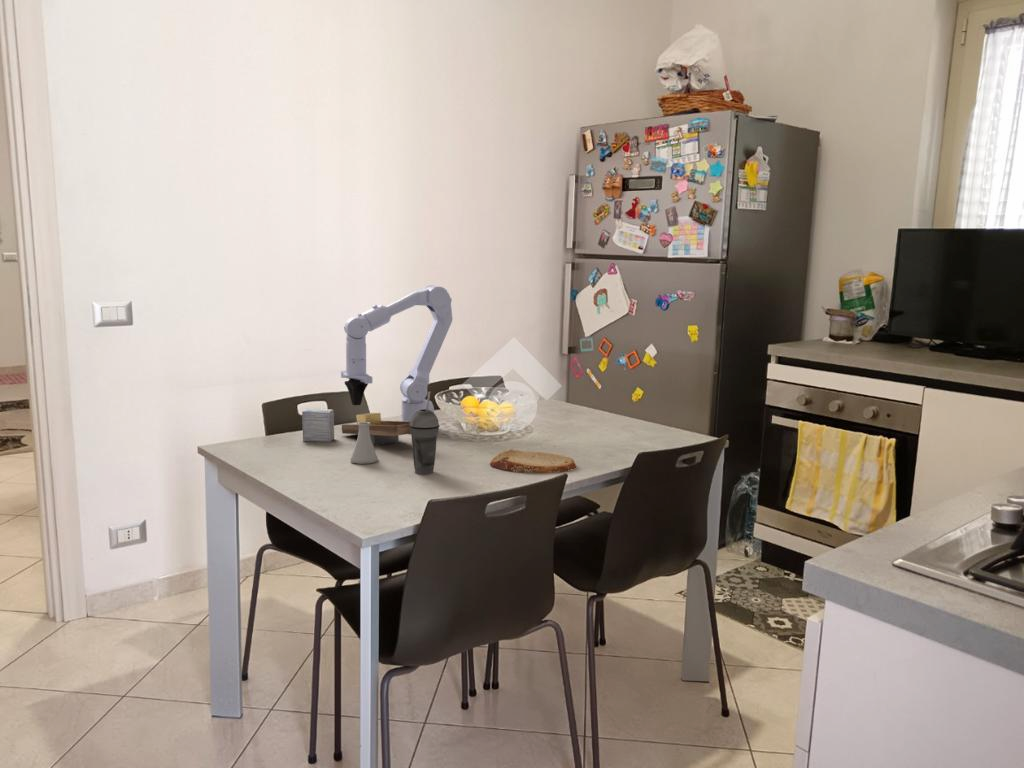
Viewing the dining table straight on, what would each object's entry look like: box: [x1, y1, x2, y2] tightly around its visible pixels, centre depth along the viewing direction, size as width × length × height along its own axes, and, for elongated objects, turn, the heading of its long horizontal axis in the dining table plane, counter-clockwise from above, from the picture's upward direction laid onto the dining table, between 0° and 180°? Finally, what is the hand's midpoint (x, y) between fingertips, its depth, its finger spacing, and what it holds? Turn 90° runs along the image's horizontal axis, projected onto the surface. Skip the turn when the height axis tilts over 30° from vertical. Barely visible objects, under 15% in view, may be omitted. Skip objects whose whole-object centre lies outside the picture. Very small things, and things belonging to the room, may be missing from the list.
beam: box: [341, 420, 411, 436], centre depth 226 cm, size 10×28×3 cm, turn 41°
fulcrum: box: [370, 435, 400, 446], centre depth 225 cm, size 8×2×3 cm, turn 131°
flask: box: [350, 422, 379, 465], centre depth 205 cm, size 7×7×10 cm
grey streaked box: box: [301, 408, 335, 443], centre depth 227 cm, size 8×4×9 cm, turn 84°
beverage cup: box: [409, 391, 440, 475], centre depth 195 cm, size 7×7×20 cm
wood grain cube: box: [356, 412, 382, 425], centre depth 231 cm, size 5×5×4 cm
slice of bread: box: [489, 448, 577, 474], centre depth 204 cm, size 18×18×4 cm
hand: (356, 404), depth 235 cm, fingers closed
